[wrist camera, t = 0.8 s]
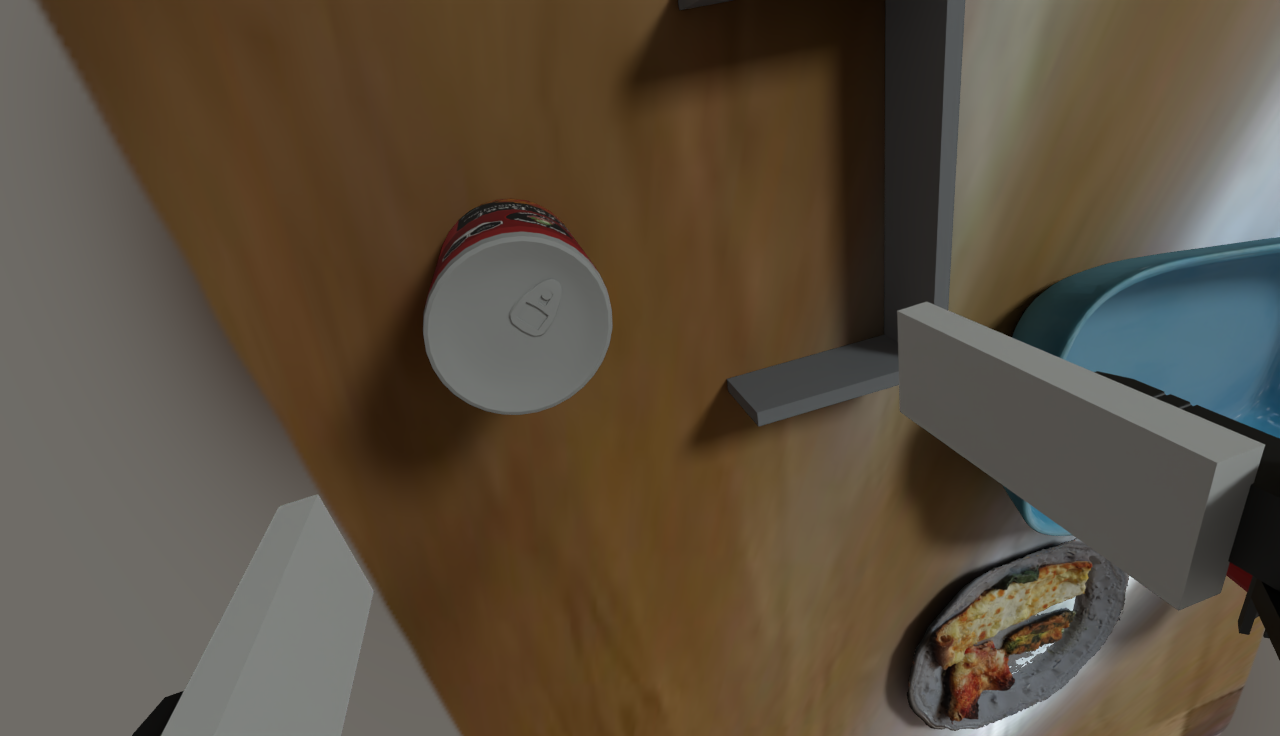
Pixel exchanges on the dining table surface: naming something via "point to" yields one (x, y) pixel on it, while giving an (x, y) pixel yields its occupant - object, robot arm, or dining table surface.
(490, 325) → the canned food
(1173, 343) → the casserole dish
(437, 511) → the dining table surface
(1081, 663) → the food plate
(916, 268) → the box
